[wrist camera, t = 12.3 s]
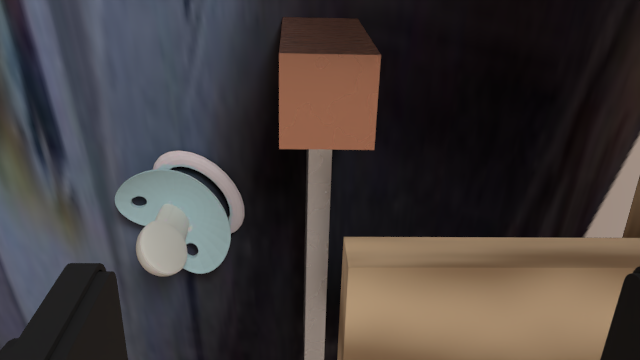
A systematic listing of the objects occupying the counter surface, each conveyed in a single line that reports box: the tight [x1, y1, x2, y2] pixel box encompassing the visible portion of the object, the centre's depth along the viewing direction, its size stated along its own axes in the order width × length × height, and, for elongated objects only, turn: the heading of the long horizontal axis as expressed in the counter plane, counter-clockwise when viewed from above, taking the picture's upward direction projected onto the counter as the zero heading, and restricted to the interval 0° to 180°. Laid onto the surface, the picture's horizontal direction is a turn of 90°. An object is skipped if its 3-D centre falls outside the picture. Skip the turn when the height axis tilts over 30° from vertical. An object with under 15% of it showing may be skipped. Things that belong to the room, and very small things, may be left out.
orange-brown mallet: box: [279, 17, 381, 360], centre depth 31 cm, size 20×4×9 cm, turn 178°
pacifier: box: [115, 150, 245, 276], centre depth 32 cm, size 7×6×6 cm
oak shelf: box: [337, 177, 640, 360], centre depth 32 cm, size 11×21×12 cm, turn 88°
